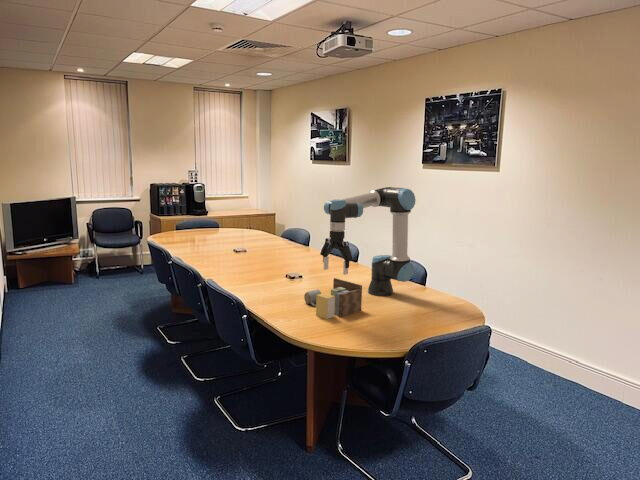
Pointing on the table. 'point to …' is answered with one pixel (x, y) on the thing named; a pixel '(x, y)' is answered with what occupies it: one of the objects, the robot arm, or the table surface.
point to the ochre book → (325, 306)
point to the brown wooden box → (346, 297)
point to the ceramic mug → (311, 297)
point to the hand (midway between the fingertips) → (335, 271)
